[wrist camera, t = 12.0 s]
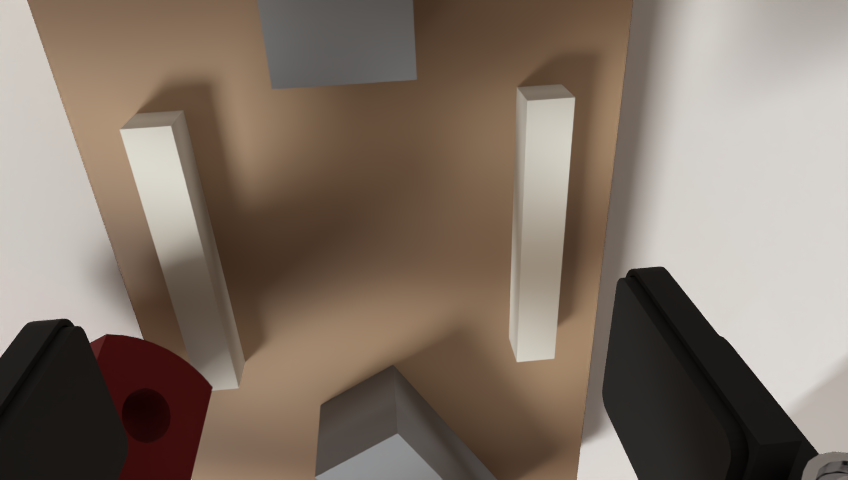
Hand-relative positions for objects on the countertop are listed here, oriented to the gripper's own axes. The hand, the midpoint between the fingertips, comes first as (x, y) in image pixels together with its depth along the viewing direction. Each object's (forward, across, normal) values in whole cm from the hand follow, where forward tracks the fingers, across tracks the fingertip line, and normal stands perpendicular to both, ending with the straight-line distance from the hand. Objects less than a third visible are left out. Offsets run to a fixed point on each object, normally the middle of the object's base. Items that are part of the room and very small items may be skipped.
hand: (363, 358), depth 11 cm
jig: (+7, 0, 0) cm, 7 cm away
